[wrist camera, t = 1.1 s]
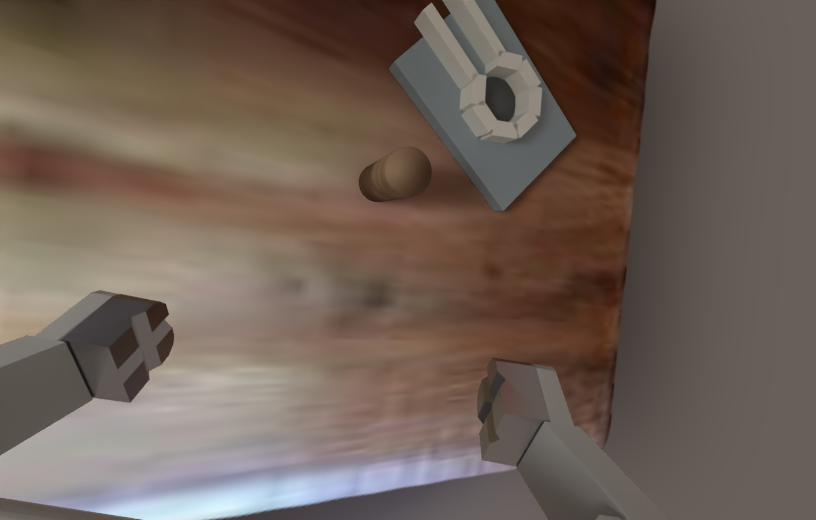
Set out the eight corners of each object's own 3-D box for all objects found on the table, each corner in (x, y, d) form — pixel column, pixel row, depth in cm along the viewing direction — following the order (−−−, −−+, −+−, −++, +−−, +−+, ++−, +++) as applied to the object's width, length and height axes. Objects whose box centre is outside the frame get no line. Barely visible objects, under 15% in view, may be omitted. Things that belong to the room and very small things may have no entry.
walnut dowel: (351, 180, 40) (376, 167, 30) (378, 156, 40) (411, 136, 31) (376, 209, 41) (408, 205, 31) (401, 185, 42) (440, 174, 32)
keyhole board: (378, 55, 39) (391, 35, 35) (467, -19, 42) (489, -46, 38) (494, 211, 46) (516, 210, 42) (564, 139, 49) (592, 130, 44)
